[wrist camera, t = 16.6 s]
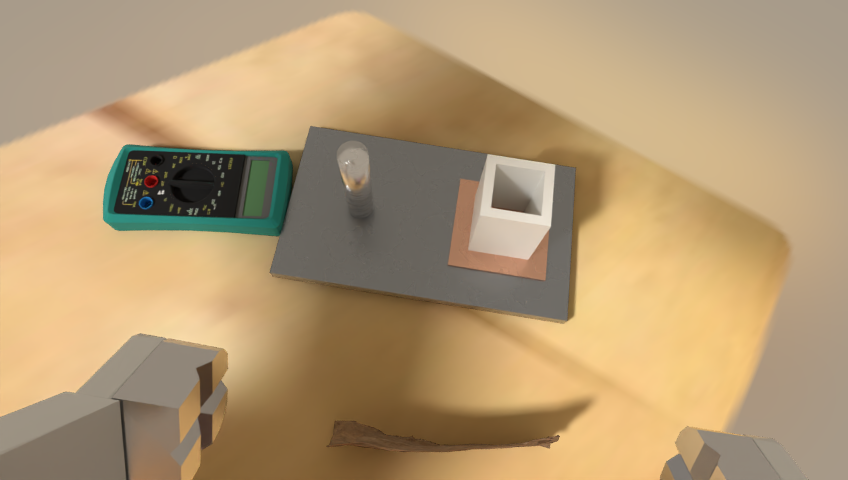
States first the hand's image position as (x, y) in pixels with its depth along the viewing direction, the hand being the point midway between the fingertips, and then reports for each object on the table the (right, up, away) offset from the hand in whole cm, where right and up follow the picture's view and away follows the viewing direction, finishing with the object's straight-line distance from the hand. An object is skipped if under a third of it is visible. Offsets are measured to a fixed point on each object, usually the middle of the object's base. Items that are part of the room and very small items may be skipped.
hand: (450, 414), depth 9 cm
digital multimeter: (-19, +7, +37) cm, 42 cm away
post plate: (0, +5, +36) cm, 36 cm away
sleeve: (+6, +4, +35) cm, 36 cm away
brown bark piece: (+1, -12, +30) cm, 32 cm away
